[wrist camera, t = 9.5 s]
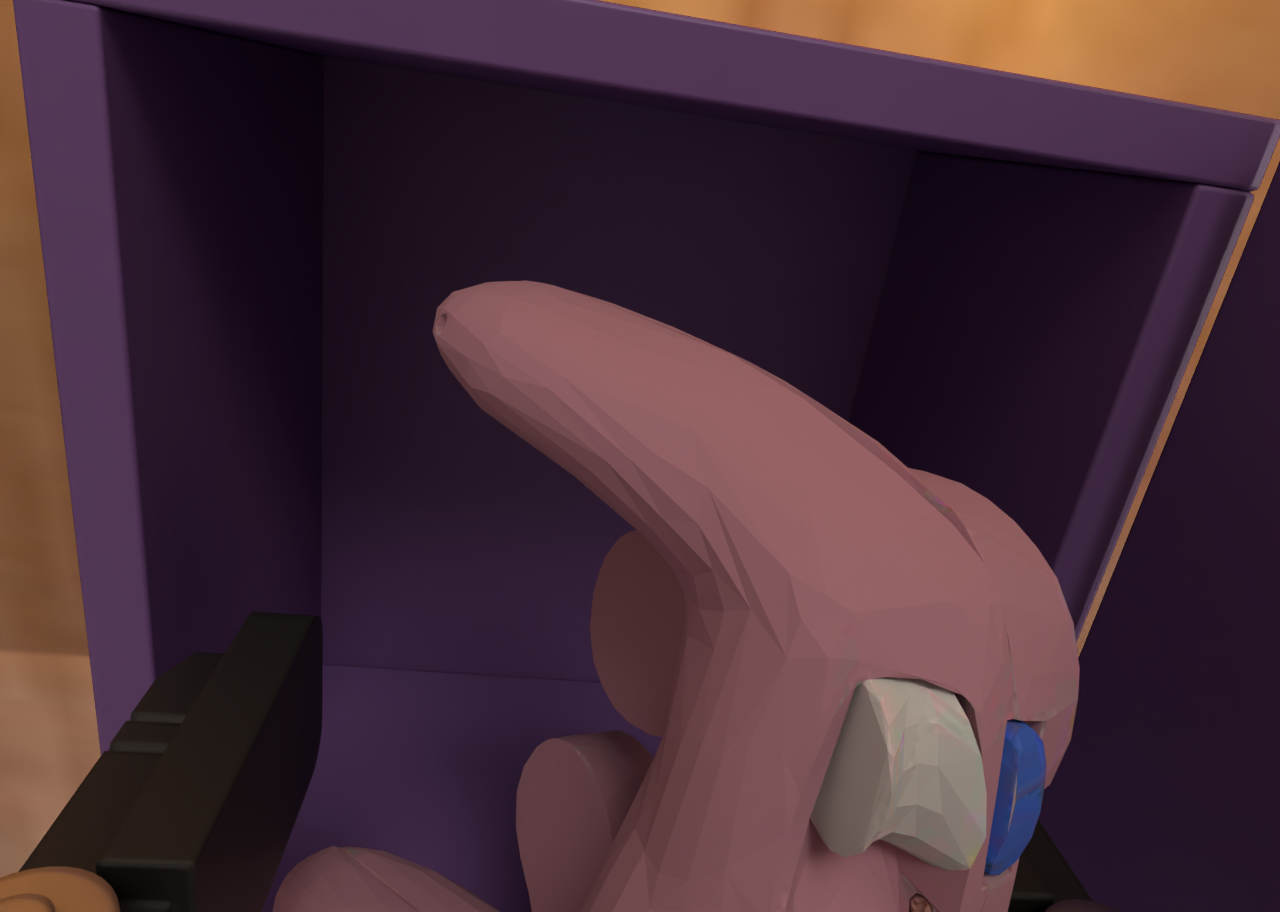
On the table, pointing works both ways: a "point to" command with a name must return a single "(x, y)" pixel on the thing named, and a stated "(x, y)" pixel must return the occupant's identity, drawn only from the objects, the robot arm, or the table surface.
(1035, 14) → the table surface
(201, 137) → the box
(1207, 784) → the lid
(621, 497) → the video game controller
